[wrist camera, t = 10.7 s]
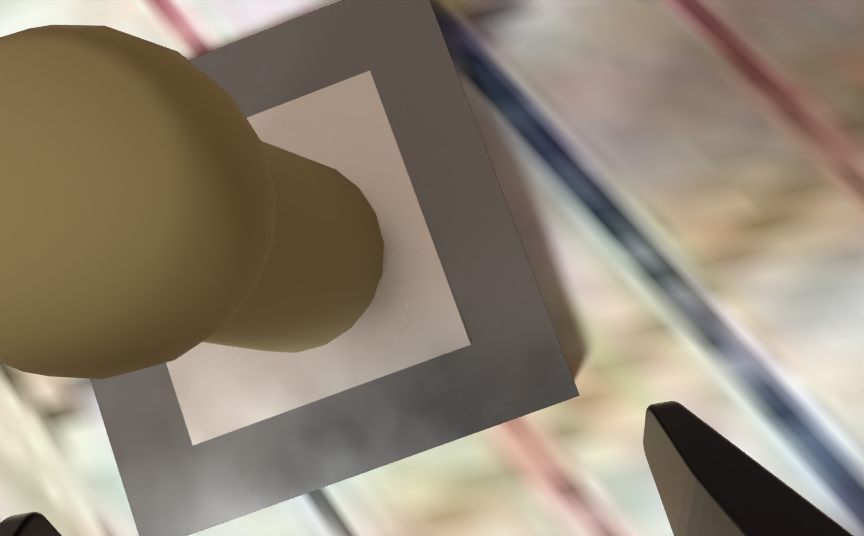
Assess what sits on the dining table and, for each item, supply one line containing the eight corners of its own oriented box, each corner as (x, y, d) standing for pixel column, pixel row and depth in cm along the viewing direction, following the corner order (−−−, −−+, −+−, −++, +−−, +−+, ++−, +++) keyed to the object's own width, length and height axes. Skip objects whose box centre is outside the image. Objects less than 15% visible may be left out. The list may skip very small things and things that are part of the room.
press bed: (571, 388, 19) (580, 395, 18) (168, 532, 20) (142, 552, 18) (421, -5, 20) (417, -32, 19) (45, 141, 21) (9, 127, 19)
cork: (199, 363, 18) (-206, 454, 7) (183, 169, 19) (-225, -19, 8) (394, 342, 18) (273, 405, 7) (373, 146, 18) (229, -87, 7)
